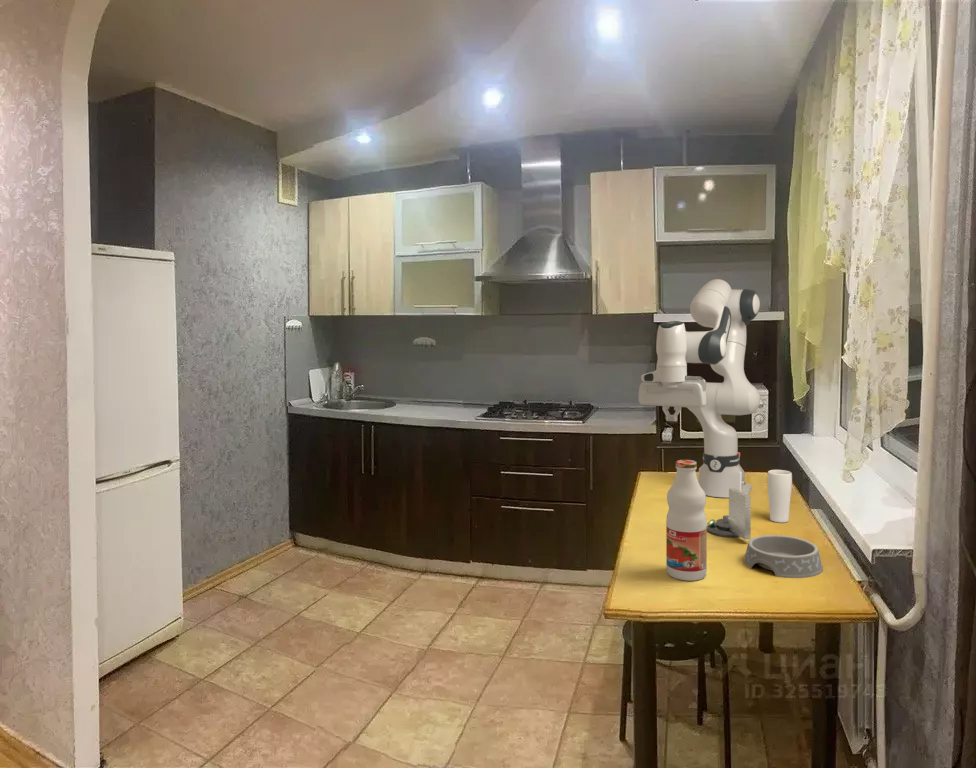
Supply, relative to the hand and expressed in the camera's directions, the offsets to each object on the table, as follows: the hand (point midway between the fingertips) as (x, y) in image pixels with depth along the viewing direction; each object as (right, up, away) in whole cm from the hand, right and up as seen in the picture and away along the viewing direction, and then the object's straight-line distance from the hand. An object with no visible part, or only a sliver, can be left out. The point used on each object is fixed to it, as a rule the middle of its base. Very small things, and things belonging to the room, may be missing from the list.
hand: (671, 421), depth 204 cm
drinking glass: (+33, -31, 0) cm, 45 cm away
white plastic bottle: (-7, -36, -39) cm, 53 cm away
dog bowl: (+18, -35, -35) cm, 52 cm away
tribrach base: (+14, -32, -8) cm, 35 cm away
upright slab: (+14, -31, -12) cm, 36 cm away
